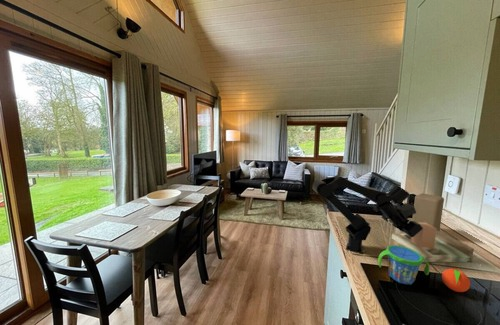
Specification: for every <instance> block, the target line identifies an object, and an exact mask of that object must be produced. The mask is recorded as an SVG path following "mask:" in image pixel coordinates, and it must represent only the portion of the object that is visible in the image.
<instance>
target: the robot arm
mask: <svg viewBox="0 0 500 325" xmlns="http://www.w3.org/2000/svg"><path fill="white" fill-rule="evenodd" d="M340 187H343V188H345V189H347V190H350V191H352V192H355V193H357V194H359V195H361V196H363V197H365V198H366V199H367V200H369V201H371V202H373V207H372V209H373V211H375V212H377V213H379V212H380V211H381V213H382V215H381V218H382V219H383V220H384V221H385V222H387V223H388V222H390V223H391V224H392V227H394V228H395V229H398V230H399V231H401V232H402V233H403V234H407V235H408V236H410V237H414V236H415V235H416V234H417V233H418V232H420V231H421V230H422V229H423V227H422V226H421V225H420V224H418V223H417V222H415V221H412V220H409V216H413V214H416V210H415V207H414V204H413V205H412V204H410V203H408V202H407V203H406V202H405V200H407V199H408V198H409V197H410V196H411V194H410V193H409V191H407V190H406V189H404V188H402V187H401V186H400V185H398V184H396V185H394V186H393V188H391V190H389V191H388V192H385V191H381V190H379V189H377V188H375V187H371V186H364V185H361V184H359V183H356V182H354V181H352V180H350V179H347V178H344V177H343V176H341V175H340V174H339V175H334V176H331V177H327V178H323V179H317V180H315V181H314V182H312V190H313V191H314V192H315V193H316V194H318V195H319V196H320V197H322V198H323V199H324V200H326V201H328V202H329V203H330V204H331V205H332V206H333V207H334V208H335V209H336V210H337V211H338V212H339V213H340V214H341V215H342V216H344V218H345V219H346V220H347V222H348V225H346V226H345V231H346V233H348V240H347V244H346V246H345V249H346V250H348V251H351V250H352V251H351V252H354V251H356V252H355V253H358V252H359V254H362V253H363V249H364V246H363V241H366V240H367V238H368V236H369V234H370V232H371V230H372V228H371V226H370V224H371V223H370V222H368V221H367V220H366V218H365V217H363V216H361V214H359V213H357V212H356V214H354V212H352V210H350V209H349V208H348V206H346V204H344V203H343V201H341V200H340V199H339V198H338V197H337V196H336V194H335V193H334V191H335V190H337V189H339V188H340ZM395 205H396V206H395Z"/></svg>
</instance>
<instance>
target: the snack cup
mask: <svg viewBox="0 0 500 325" xmlns="http://www.w3.org/2000/svg"><path fill="white" fill-rule="evenodd" d="M384 256H387V260H388V261H387V263H388V264H387V265H388V275H389V276H390V278H392V279H393V281H396V282H398V284H402V285H403V284H404V285H410V286H412V284H413V283H414V282H415V281H416V277H417V275H418V272H419V269H420V267H421V265H422V264H423V260H424V261H425V262H424V263H425V266H424V269H423V272H424V274H425V276H429V274H430V268H431V267H430V264H429V262H427V260H426V259H425V258H424V257H422V256H421V255H420V254H419V253H417V252H416V251H414V250H411V249H409V248H406V247H403V246H402V245H388V246H387V248H386V249H384V250H383V251H381V252H380V254H379V255H378V258H377V264H378V266H379V268H382V260H383V257H384Z"/></svg>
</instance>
